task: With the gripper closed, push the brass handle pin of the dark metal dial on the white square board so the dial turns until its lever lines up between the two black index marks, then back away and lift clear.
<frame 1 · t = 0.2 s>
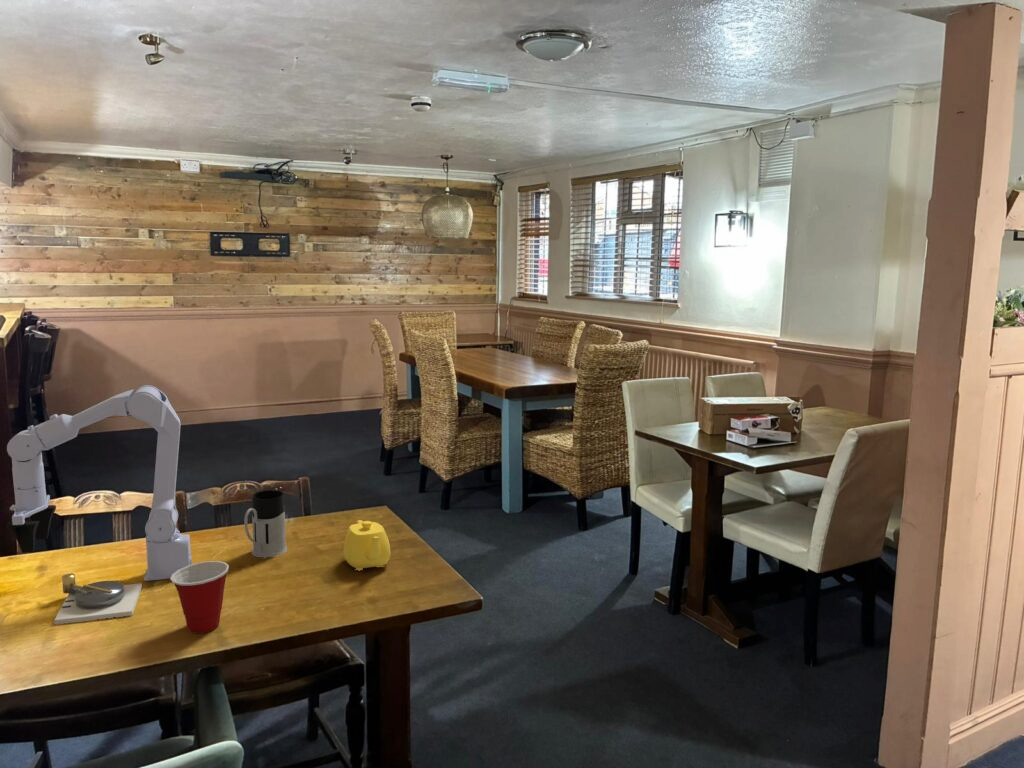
hand: (35, 545, 164), 10 cm above the table, tool pointing down, fingers open, 7 cm apart
plastic cup: (202, 627, 149), on the table
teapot: (367, 565, 181), on the table
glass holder: (263, 556, 186), on the table
white square board: (100, 605, 157), on the table
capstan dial: (89, 588, 158), point 3 cm above the table, hinge at -40.0°
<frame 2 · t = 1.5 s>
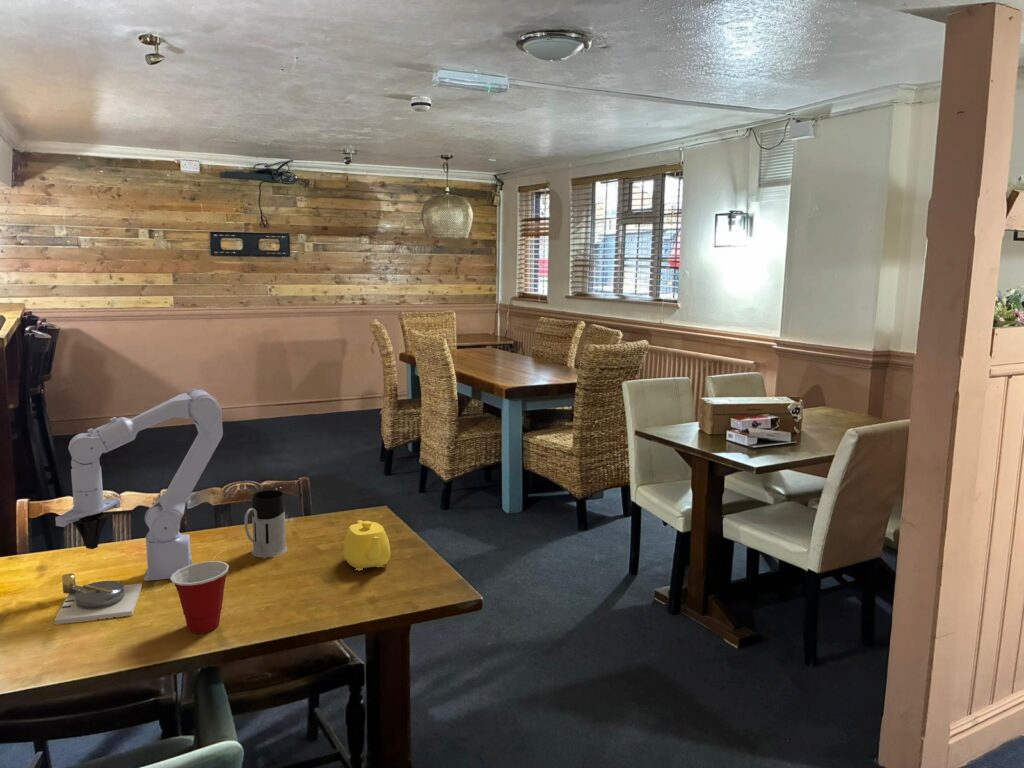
hand: (91, 547, 165), 9 cm above the table, tool pointing down, fingers closed
nothing on the table moved.
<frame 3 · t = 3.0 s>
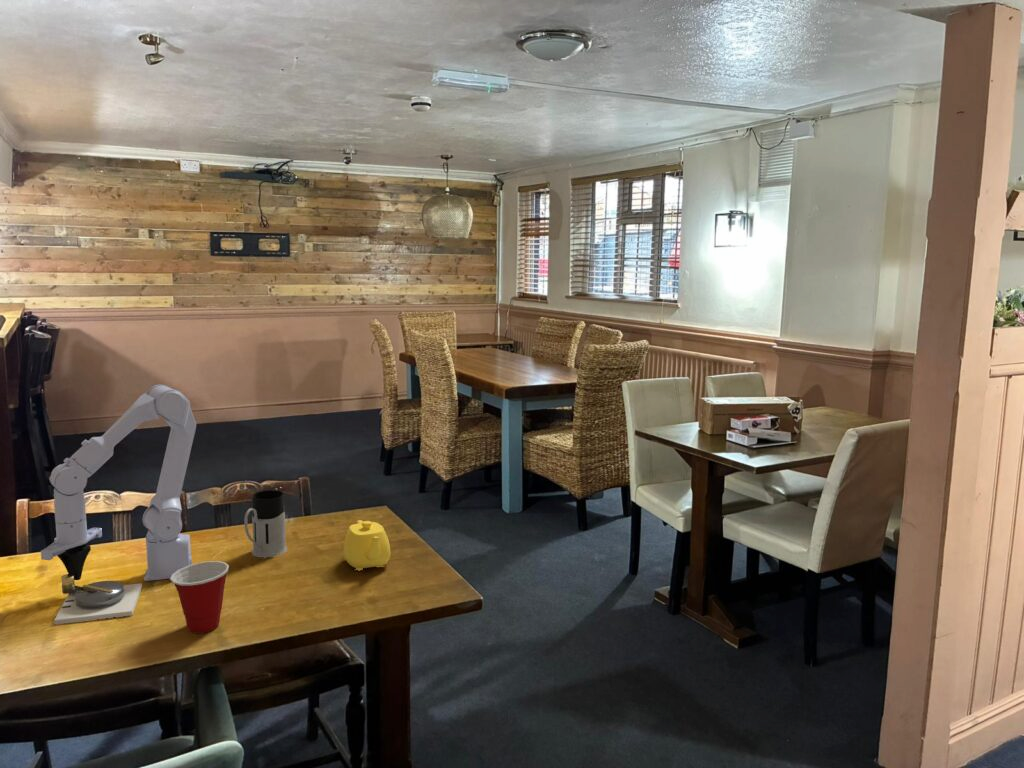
hand: (75, 579, 162), 3 cm above the table, tool pointing down, fingers closed
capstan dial: (89, 588, 158), point 3 cm above the table, hinge at -38.8°, touching gripper
everything else where it was.
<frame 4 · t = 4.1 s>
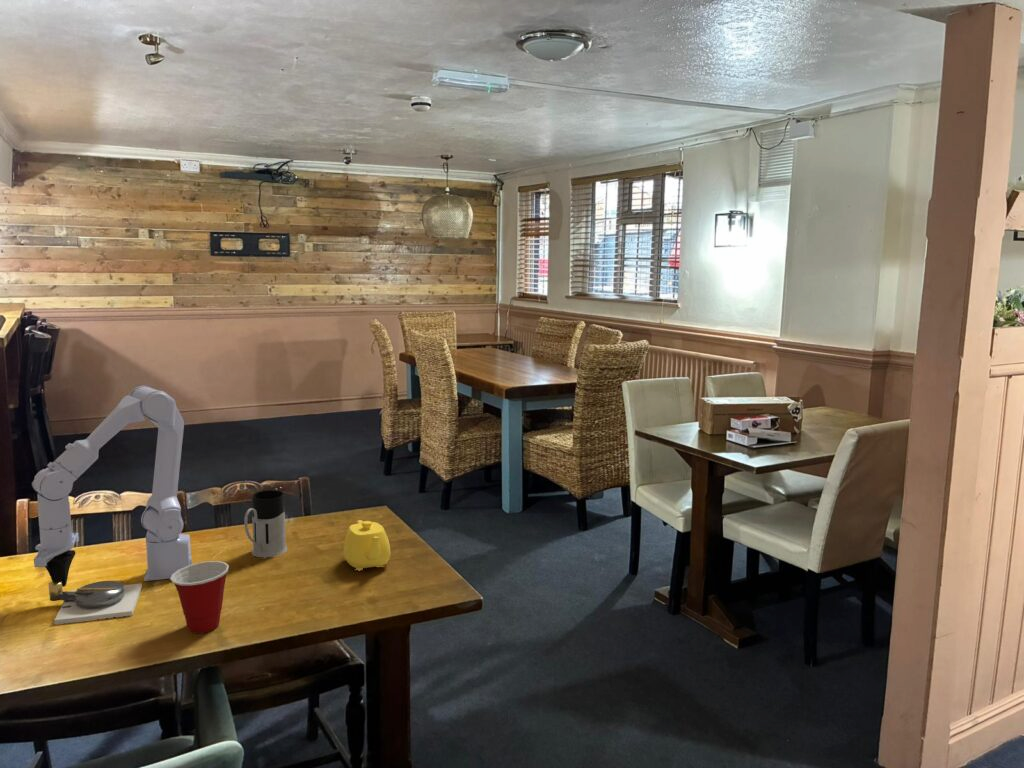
hand: (60, 586, 158), 3 cm above the table, tool pointing down, fingers closed
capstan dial: (85, 590, 157), point 3 cm above the table, hinge at -16.0°, touching gripper
everything else where it was.
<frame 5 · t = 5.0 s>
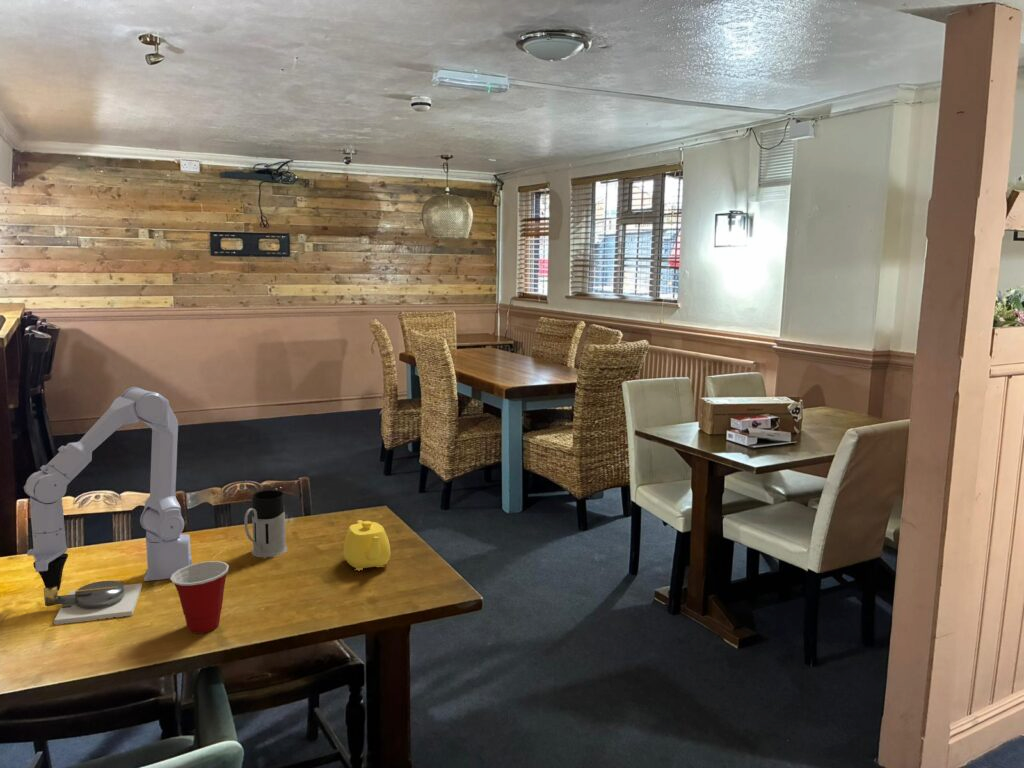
hand: (53, 590, 156), 3 cm above the table, tool pointing down, fingers closed
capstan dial: (84, 592, 156), point 3 cm above the table, hinge at -0.8°, touching gripper
everything else where it was.
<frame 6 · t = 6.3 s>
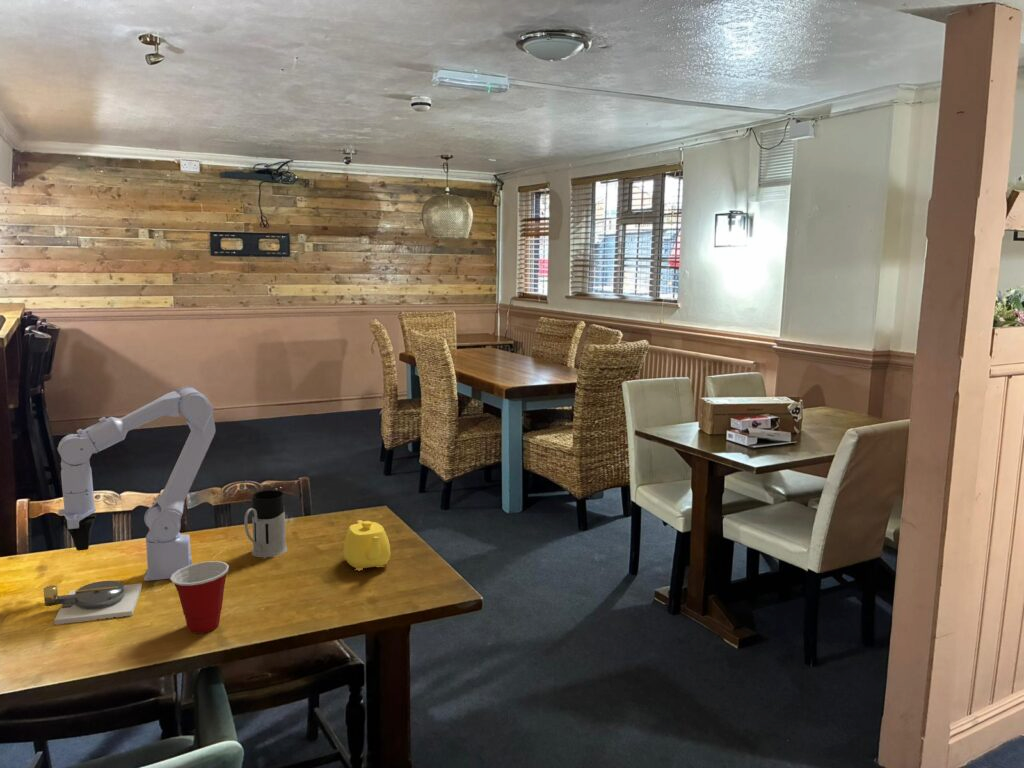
hand: (82, 549, 163), 9 cm above the table, tool pointing down, fingers closed
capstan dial: (84, 592, 156), point 3 cm above the table, hinge at -0.5°
everything else where it was.
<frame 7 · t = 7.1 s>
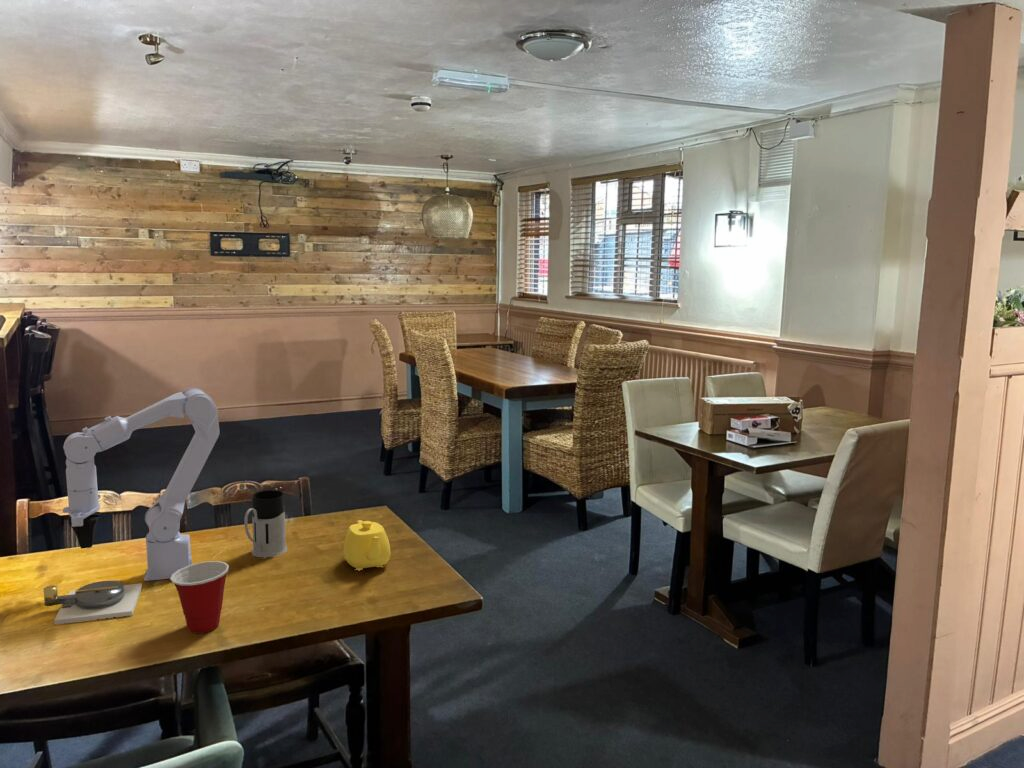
hand: (86, 547, 164), 9 cm above the table, tool pointing down, fingers closed
nothing on the table moved.
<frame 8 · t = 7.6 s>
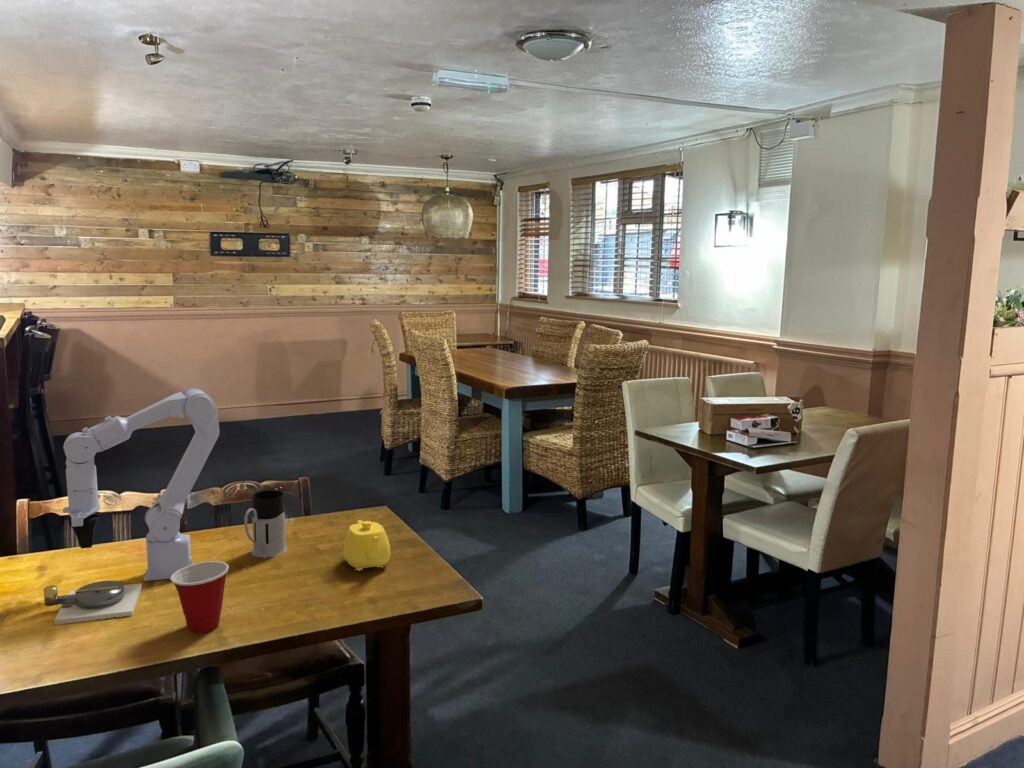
hand: (86, 547, 164), 9 cm above the table, tool pointing down, fingers closed
nothing on the table moved.
at the end: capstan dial at +0° (first picture: -40°) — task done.
